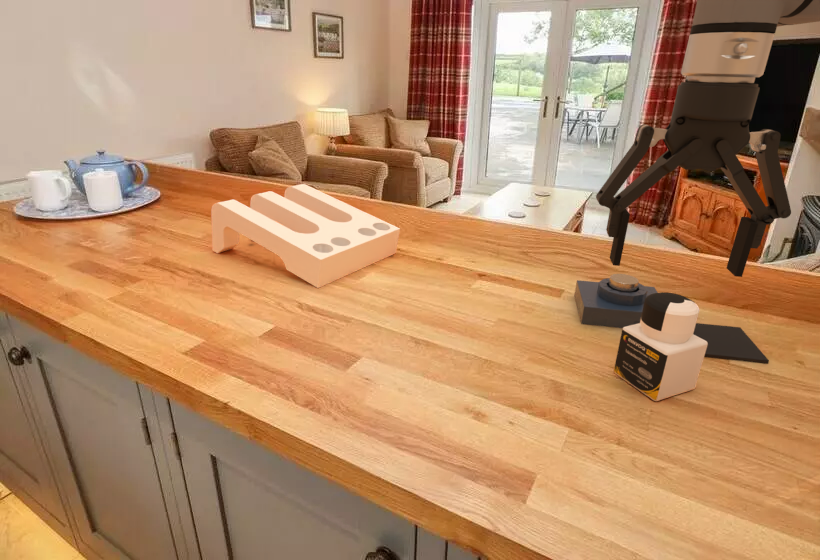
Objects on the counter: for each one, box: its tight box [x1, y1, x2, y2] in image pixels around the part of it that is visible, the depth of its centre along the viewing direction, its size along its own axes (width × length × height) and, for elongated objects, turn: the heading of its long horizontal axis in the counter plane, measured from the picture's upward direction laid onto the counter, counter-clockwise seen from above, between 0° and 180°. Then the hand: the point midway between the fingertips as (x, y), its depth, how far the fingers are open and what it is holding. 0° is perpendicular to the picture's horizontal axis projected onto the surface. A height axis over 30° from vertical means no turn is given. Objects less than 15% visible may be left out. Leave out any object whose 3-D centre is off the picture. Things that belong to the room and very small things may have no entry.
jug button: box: [608, 273, 640, 293], centre depth 81 cm, size 4×4×2 cm
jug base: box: [574, 277, 659, 329], centre depth 82 cm, size 13×11×5 cm
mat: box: [693, 322, 770, 365], centre depth 74 cm, size 10×10×1 cm
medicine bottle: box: [613, 292, 708, 402], centre depth 62 cm, size 7×7×12 cm
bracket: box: [210, 183, 401, 289], centre depth 107 cm, size 24×12×32 cm
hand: (672, 267), depth 60 cm, fingers open, 13 cm apart
